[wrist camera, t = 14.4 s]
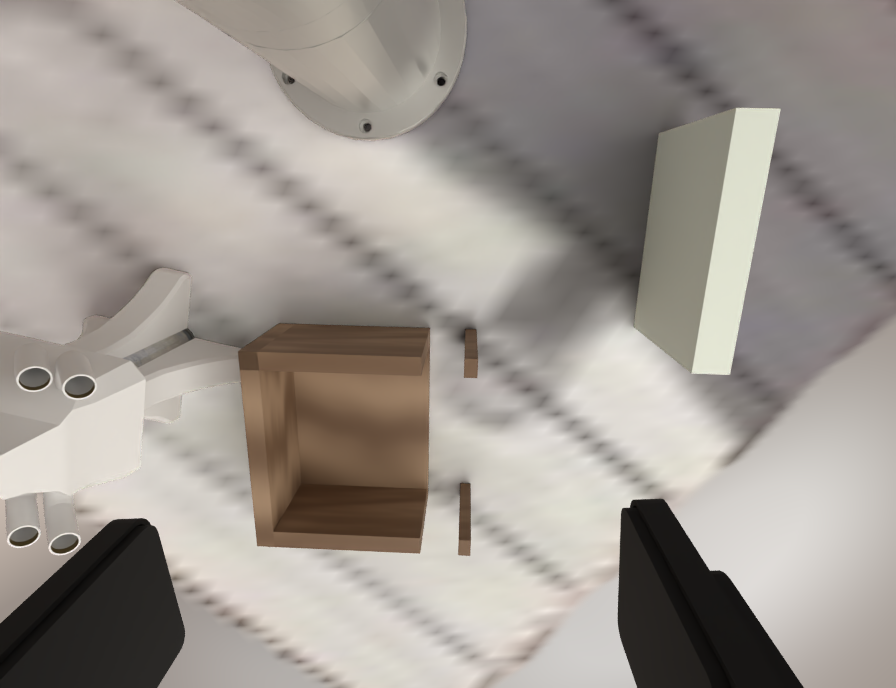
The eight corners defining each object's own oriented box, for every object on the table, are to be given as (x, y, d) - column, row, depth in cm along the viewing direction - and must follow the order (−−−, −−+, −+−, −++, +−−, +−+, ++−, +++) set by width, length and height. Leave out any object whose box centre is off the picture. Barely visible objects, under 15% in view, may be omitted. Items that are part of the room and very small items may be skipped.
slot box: (279, 323, 38) (237, 351, 31) (476, 329, 37) (477, 359, 30) (291, 489, 41) (257, 546, 35) (469, 496, 41) (470, 555, 34)
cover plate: (658, 133, 33) (736, 107, 23) (689, 133, 33) (780, 108, 23) (633, 326, 37) (691, 373, 27) (661, 327, 37) (729, 374, 27)
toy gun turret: (78, 247, 37) (-272, 293, 19) (259, 289, 37) (75, 372, 20) (75, 396, 40) (-225, 549, 23) (241, 434, 40) (71, 613, 23)
